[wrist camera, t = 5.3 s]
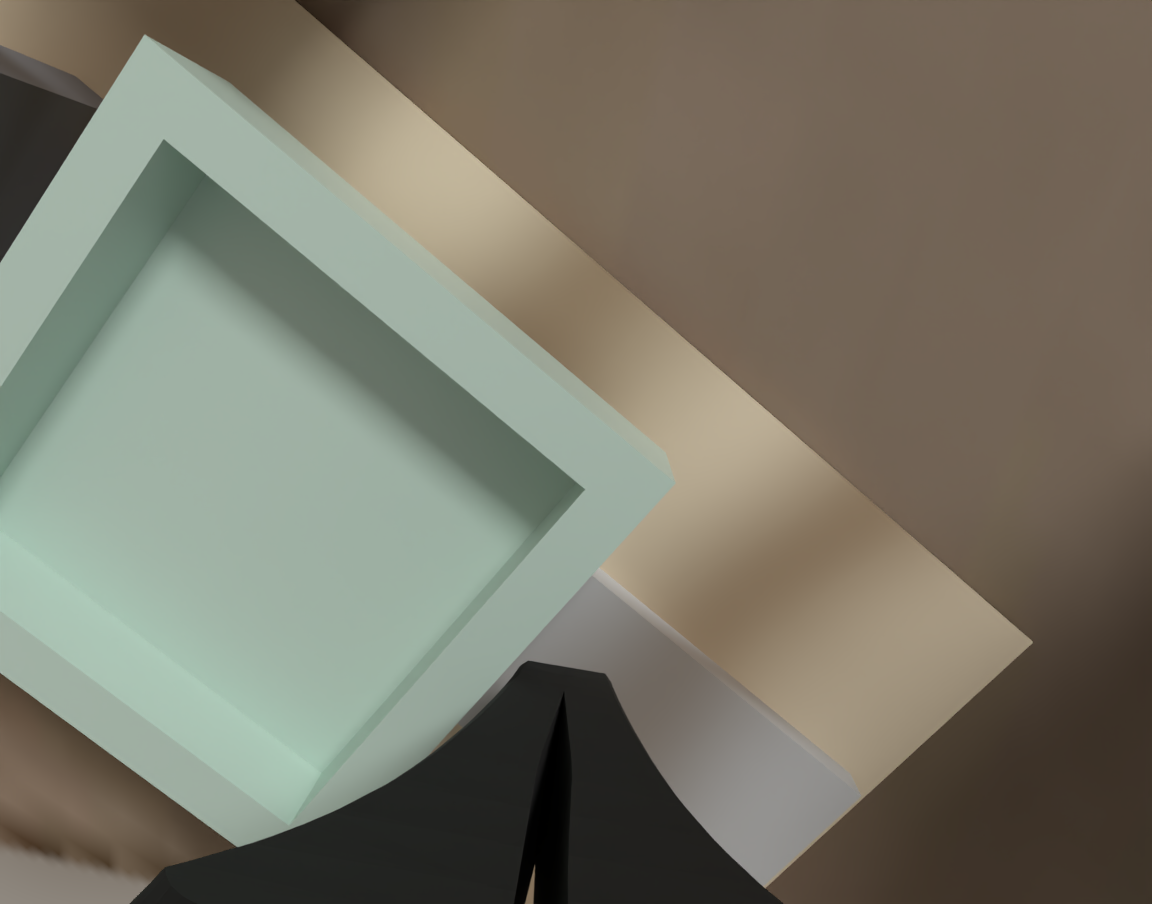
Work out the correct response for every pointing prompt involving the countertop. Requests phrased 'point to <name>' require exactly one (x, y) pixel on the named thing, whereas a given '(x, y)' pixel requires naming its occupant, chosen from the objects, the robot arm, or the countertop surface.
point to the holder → (273, 465)
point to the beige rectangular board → (640, 394)
